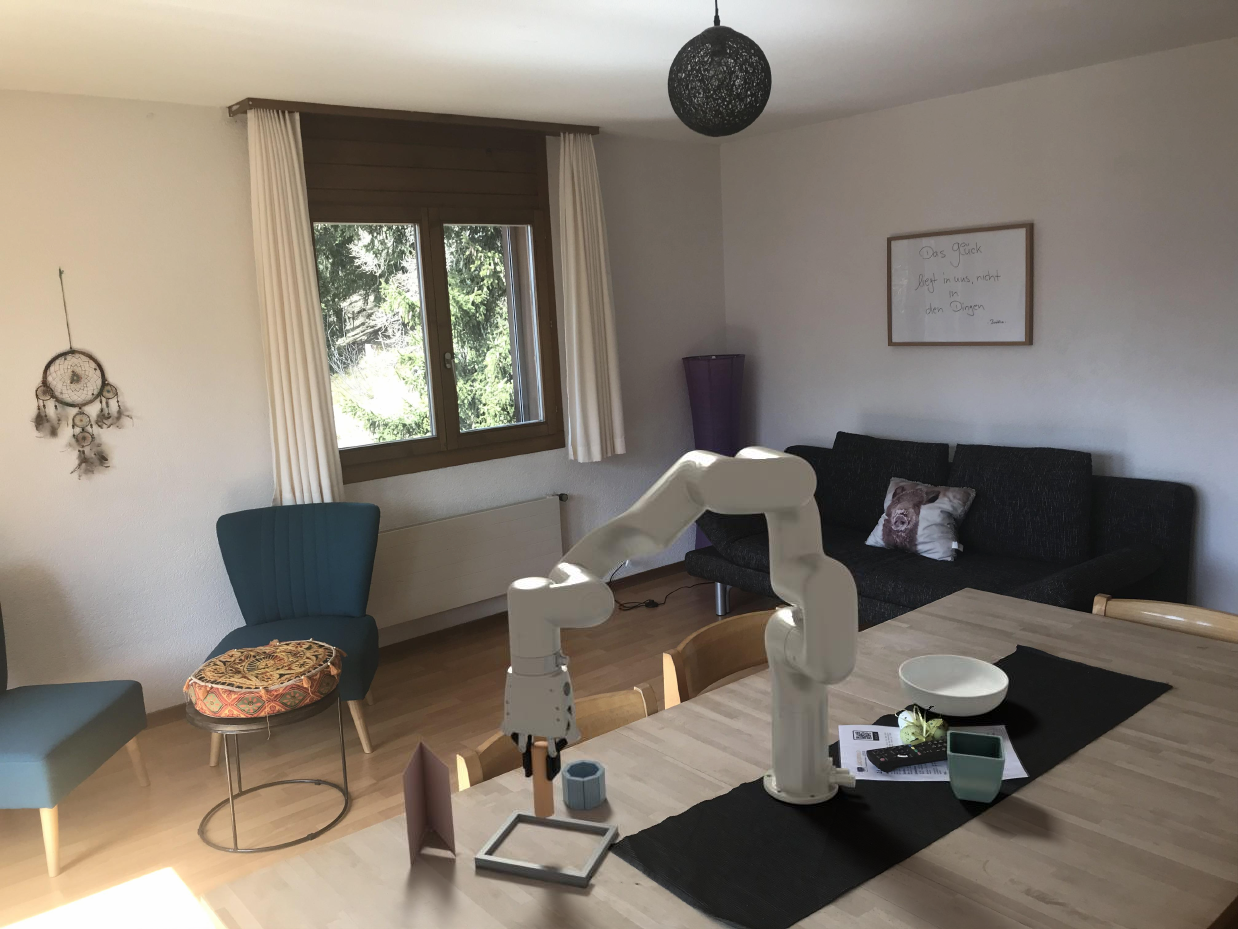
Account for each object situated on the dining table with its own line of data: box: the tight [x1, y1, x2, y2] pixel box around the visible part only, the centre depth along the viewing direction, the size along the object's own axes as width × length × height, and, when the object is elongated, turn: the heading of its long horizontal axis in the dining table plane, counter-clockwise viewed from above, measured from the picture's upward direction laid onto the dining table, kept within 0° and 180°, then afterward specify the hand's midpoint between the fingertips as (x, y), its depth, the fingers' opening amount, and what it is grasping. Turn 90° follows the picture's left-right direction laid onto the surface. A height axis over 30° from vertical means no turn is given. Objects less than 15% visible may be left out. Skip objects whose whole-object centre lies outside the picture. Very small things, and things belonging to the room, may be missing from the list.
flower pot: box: [946, 730, 1006, 804], centre depth 157 cm, size 9×9×9 cm
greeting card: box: [401, 740, 457, 866], centre depth 149 cm, size 11×7×15 cm, turn 178°
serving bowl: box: [898, 654, 1010, 717], centre depth 191 cm, size 21×21×7 cm
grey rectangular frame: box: [474, 809, 619, 889], centre depth 146 cm, size 18×14×2 cm
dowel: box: [531, 740, 555, 818], centre depth 144 cm, size 3×3×11 cm
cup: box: [561, 759, 607, 811], centre depth 160 cm, size 7×7×6 cm
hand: (542, 774), depth 144 cm, fingers closed on dowel, 3 cm apart
